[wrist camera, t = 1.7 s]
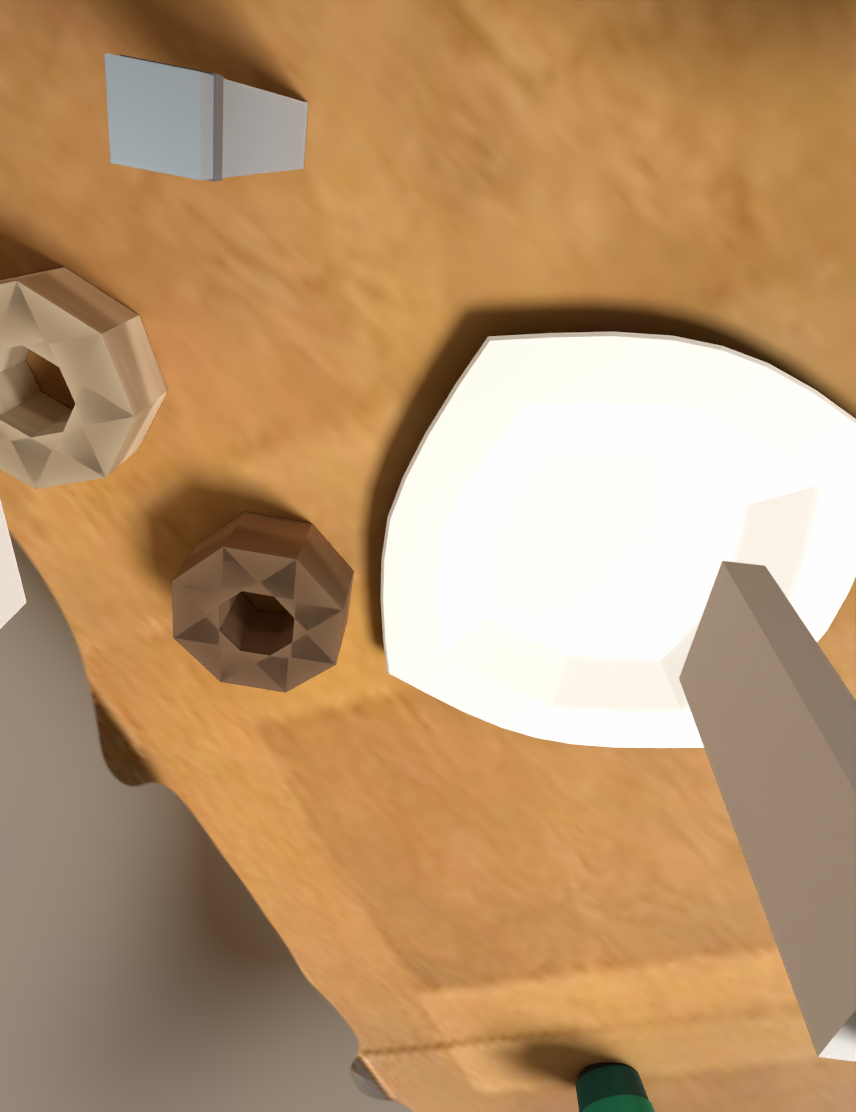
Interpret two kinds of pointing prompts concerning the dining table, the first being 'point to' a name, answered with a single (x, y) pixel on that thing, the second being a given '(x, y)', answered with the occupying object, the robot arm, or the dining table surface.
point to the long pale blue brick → (199, 122)
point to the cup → (611, 1089)
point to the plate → (606, 527)
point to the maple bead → (72, 380)
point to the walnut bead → (248, 633)
